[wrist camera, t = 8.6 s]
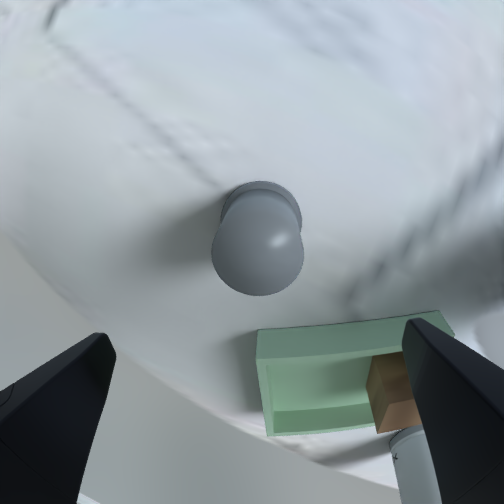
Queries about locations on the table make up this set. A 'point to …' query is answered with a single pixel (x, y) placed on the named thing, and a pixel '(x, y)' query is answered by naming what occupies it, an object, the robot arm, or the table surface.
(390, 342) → the parts tray
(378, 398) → the walnut block
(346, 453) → the table surface
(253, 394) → the table surface
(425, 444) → the travel mug
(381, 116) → the table surface
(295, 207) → the grey domed knob
